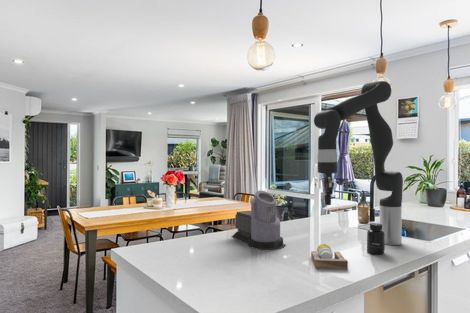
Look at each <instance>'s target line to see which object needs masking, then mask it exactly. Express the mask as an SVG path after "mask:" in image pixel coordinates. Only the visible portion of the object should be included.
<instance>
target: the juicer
mask: <svg viewBox="0 0 470 313" xmlns="http://www.w3.org/2000/svg"><path fill="white" fill-rule="evenodd" d="M254 195H255V196H254V197H252V198H251V201H250V210H242V211H236V214H235V221H234V222H235V227H234V228H235V229H237V231H236V232H234V234H232V235H231V238H233V239H235V238H236V239H235V240H239V241H240V240H241V242H243V241H244V242H243V243H245V242H246V244H247V246H248V247H250V248H252V247H253V249H256V248H257V250H260V249H261V250H260V251H265V250H270V251H277V250H283V249H285V248H286V247H287V245H286V243H284V238H283V237H282V236H281V220H280V218H279V217H278V216H277V199H276V198H275V197H274V196H273V194H271V193H270V192H268V191H265V190H257V191H256V192H255V193H254ZM285 246H286V247H285ZM284 247H285V248H284ZM282 248H283V249H282Z"/></svg>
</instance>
